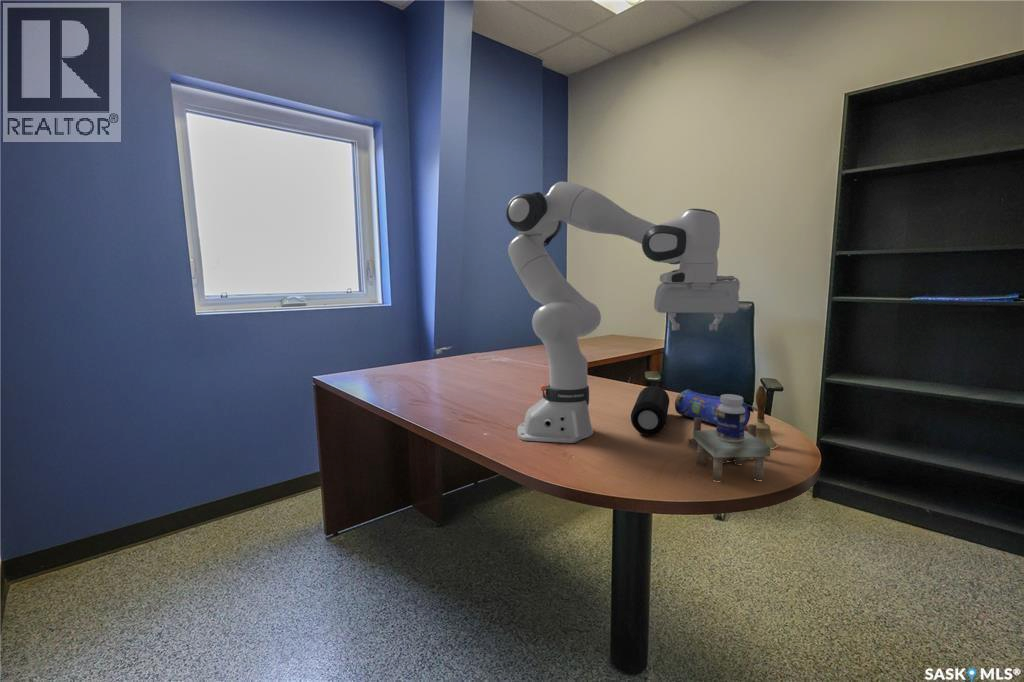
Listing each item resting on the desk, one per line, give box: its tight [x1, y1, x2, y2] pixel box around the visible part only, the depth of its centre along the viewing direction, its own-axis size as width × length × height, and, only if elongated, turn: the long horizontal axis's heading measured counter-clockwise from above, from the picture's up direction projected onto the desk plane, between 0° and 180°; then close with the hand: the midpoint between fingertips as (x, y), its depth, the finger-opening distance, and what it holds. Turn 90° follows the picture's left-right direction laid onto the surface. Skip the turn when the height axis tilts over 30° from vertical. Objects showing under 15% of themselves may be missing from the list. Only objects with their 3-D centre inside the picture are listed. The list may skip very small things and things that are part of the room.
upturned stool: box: [687, 417, 756, 463], centre depth 115 cm, size 12×12×8 cm
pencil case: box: [674, 388, 755, 428], centre depth 138 cm, size 22×9×10 cm, turn 33°
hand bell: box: [751, 385, 778, 448], centre depth 119 cm, size 8×8×16 cm
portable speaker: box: [630, 385, 670, 436], centre depth 138 cm, size 26×10×10 cm, turn 158°
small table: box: [692, 429, 771, 481], centre depth 104 cm, size 12×12×8 cm
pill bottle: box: [716, 393, 746, 443], centre depth 102 cm, size 6×6×10 cm
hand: (694, 330), depth 114 cm, fingers open, 8 cm apart
